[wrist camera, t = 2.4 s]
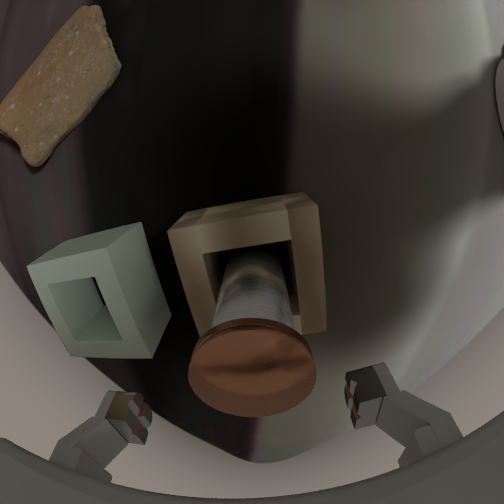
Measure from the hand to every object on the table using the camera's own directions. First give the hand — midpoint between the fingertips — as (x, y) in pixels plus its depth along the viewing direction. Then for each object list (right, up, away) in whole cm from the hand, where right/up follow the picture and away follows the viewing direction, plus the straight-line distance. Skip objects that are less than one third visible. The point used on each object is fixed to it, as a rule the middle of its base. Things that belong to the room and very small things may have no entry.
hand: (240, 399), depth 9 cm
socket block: (-12, +3, +14) cm, 18 cm away
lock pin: (+1, +5, +13) cm, 14 cm away
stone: (-18, +21, +8) cm, 28 cm away
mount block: (+1, +5, +13) cm, 14 cm away
